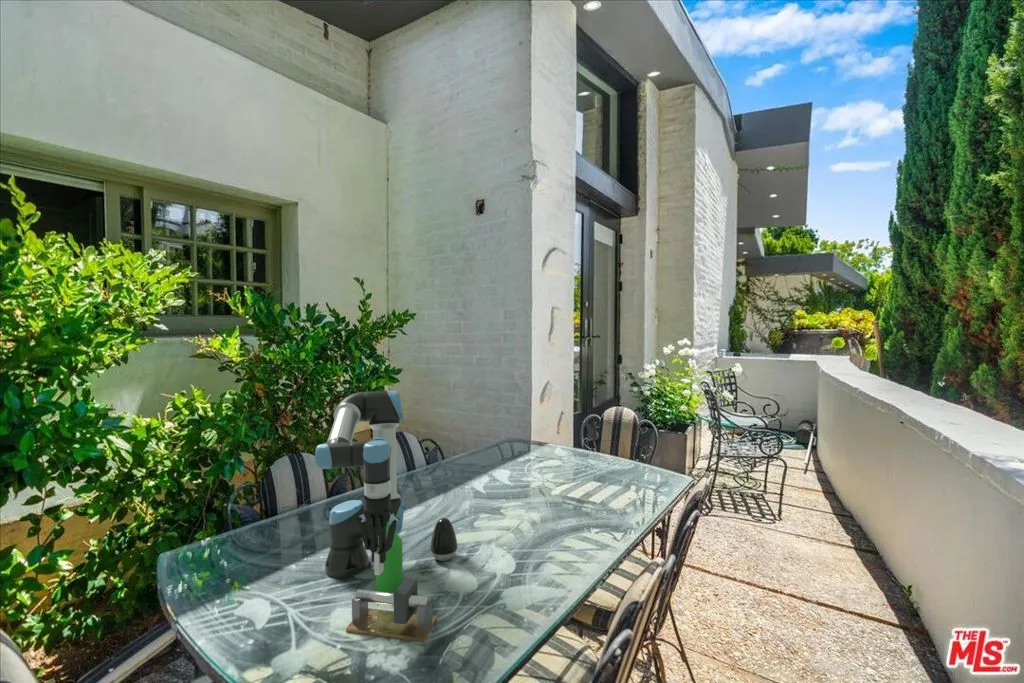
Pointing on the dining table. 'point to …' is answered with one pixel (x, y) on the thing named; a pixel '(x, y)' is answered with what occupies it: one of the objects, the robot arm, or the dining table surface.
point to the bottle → (391, 566)
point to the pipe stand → (390, 617)
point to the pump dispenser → (443, 540)
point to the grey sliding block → (404, 601)
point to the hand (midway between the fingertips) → (379, 572)
